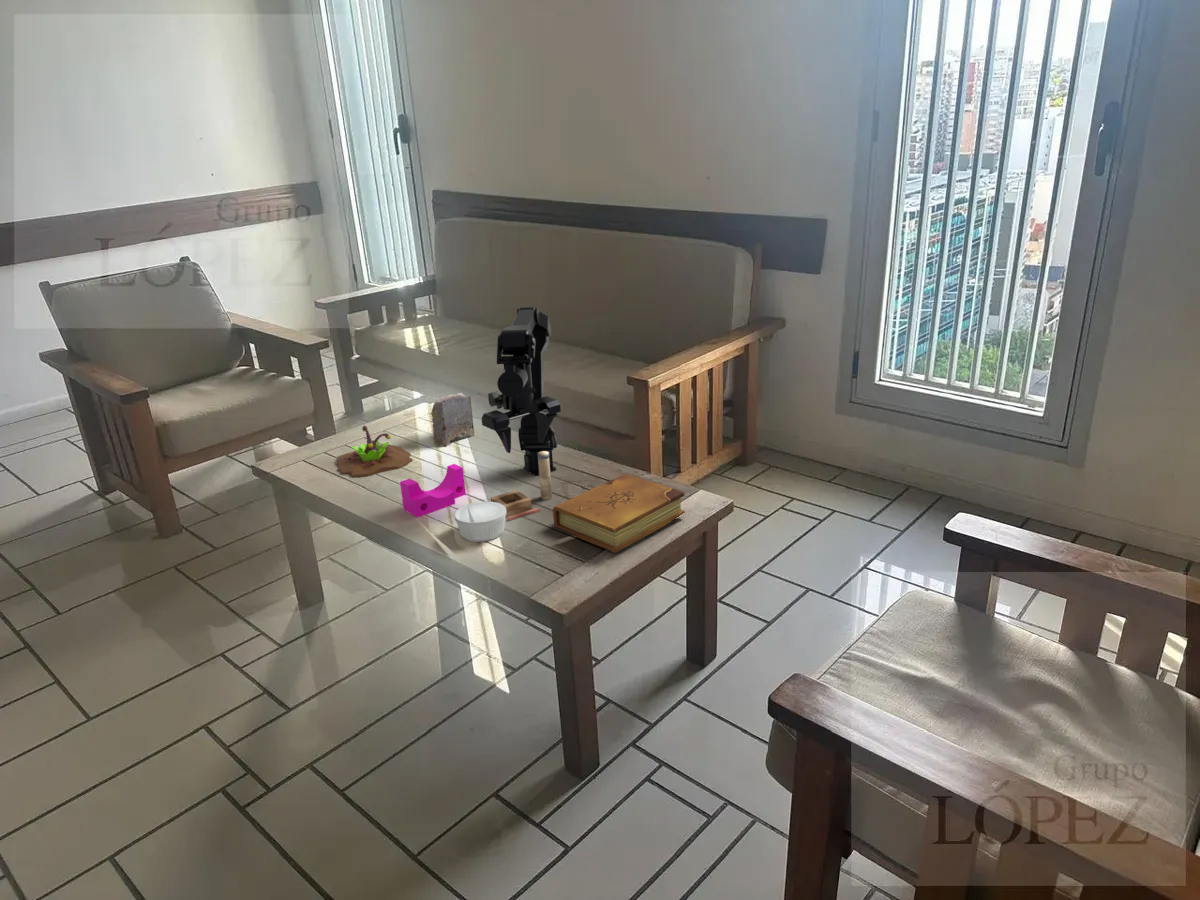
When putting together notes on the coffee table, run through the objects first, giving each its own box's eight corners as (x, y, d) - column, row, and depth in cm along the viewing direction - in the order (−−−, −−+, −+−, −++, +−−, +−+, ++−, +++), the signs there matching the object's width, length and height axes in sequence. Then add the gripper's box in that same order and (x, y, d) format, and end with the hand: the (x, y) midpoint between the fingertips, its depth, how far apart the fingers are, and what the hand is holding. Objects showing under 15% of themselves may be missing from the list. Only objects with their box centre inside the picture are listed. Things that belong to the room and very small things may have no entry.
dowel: (548, 494, 205) (545, 450, 200) (554, 498, 202) (550, 453, 198) (539, 497, 203) (535, 452, 199) (544, 500, 201) (540, 455, 197)
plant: (398, 448, 242) (392, 411, 238) (421, 468, 226) (416, 429, 222) (327, 464, 232) (320, 425, 228) (346, 486, 217) (339, 445, 213)
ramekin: (446, 535, 187) (443, 513, 185) (485, 517, 194) (482, 496, 192) (479, 549, 179) (477, 527, 178) (518, 530, 187) (516, 509, 185)
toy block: (417, 518, 196) (413, 488, 193) (404, 510, 200) (399, 481, 198) (471, 498, 205) (468, 470, 202) (457, 491, 209) (454, 463, 207)
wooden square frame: (521, 498, 203) (520, 488, 202) (540, 511, 196) (539, 501, 195) (491, 507, 199) (490, 497, 198) (509, 520, 192) (508, 510, 191)
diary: (623, 494, 204) (622, 472, 201) (684, 515, 191) (684, 492, 189) (554, 528, 188) (552, 504, 186) (615, 552, 176) (614, 527, 174)
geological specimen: (463, 436, 247) (458, 387, 242) (477, 440, 243) (471, 390, 238) (434, 447, 240) (427, 396, 234) (447, 451, 236) (441, 400, 230)
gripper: (533, 368, 204) (537, 429, 210) (465, 385, 194) (472, 449, 199) (560, 377, 196) (564, 440, 202) (491, 395, 185) (498, 461, 191)
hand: (524, 447), depth 199 cm, fingers open, 9 cm apart
